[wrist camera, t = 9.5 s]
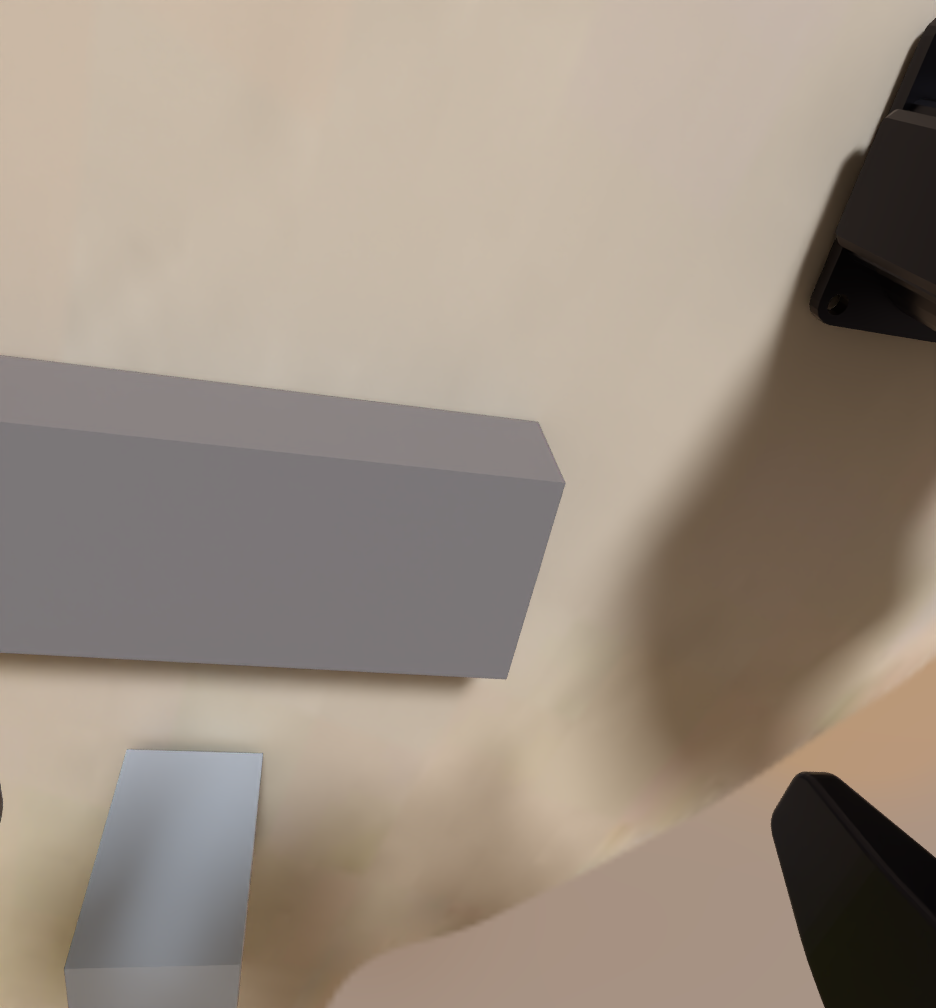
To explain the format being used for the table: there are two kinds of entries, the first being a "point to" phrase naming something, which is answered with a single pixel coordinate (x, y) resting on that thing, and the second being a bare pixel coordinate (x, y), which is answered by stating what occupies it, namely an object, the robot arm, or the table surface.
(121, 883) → the block
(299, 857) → the table surface
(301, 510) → the power strip
